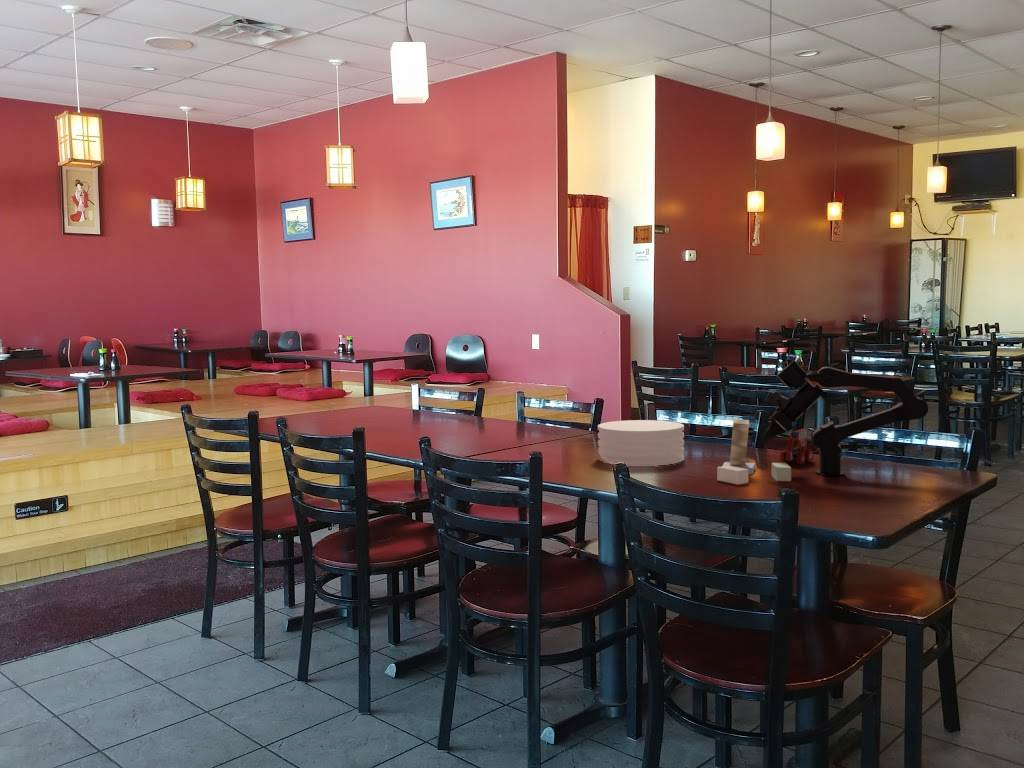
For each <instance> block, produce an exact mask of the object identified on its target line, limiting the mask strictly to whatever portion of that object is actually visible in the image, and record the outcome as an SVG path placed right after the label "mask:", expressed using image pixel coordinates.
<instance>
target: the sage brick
mask: <svg viewBox="0 0 1024 768" xmlns="http://www.w3.org/2000/svg"><path fill="white" fill-rule="evenodd" d="M771 477H772V478H773V479H774V480H775V481H776V482H791V481H792V467H791V466H790V465H789V464H788V463H782V462H771Z"/></svg>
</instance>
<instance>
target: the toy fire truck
mask: <svg viewBox="0 0 1024 768" xmlns="http://www.w3.org/2000/svg"><path fill="white" fill-rule="evenodd" d="M808 433H809V432H808V429H807V428H802V429H798V430H797V429H796V430H793V431H791V432H790V437H788V440H787V445H786V449H783V450H781V452H780V454H779V455H780V456H779V460H780V463H786V464H788V462H793V463H795V462H796V464H797V465H799V464H803V465H804V464H805V463H808V462H810V463H812V461H813V458H814V453H813V450H811V449H808V448H807V447H808V445H807V444H808V435H809V434H808Z"/></svg>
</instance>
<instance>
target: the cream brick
mask: <svg viewBox="0 0 1024 768" xmlns="http://www.w3.org/2000/svg"><path fill="white" fill-rule="evenodd" d="M716 469H717V471H716V474H717V475H716V477H717V478H716V479H717V481H718V482H719V481H720V482H723V483H729V484H734V485H737V486H738V485H743V484H748V483H749V474H748V469H744V468H738V467H733V466H717V467H716Z"/></svg>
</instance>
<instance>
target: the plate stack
mask: <svg viewBox="0 0 1024 768" xmlns="http://www.w3.org/2000/svg"><path fill="white" fill-rule="evenodd" d="M684 430H685V425H684V424H683V423H680V422H676V421H669V420H657V419H652V420H651V419H644V420H643V419H636V420H633V419H628V420H613V421H607V422H602V423H600V424H597V431H599V432H597V438H598V440H597V445H598V446H599V447H598V448H597V453H598V454H599V455H600V456H601V458H603V459H604V460H606V461H610V462H614V463H618V462H624V463H626V464H627V465H628V466H627V467H629V466H655V467H659V466H658V465H667V466H669V465H668V464H673V465H675V464H674V463H678V462H681V461H683V460H684V461H685V455H684V453H685V447H684V446H685V440H684V438H685V433H684ZM684 461H683V462H684ZM614 463H613V464H614ZM681 463H682V462H681ZM678 464H679V463H678Z"/></svg>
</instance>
